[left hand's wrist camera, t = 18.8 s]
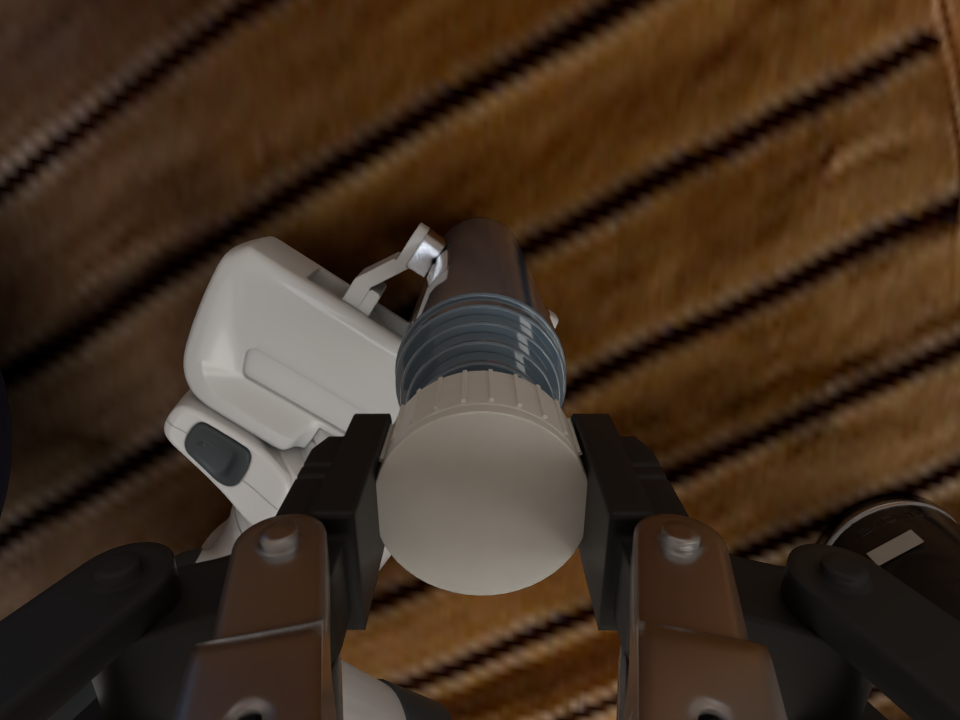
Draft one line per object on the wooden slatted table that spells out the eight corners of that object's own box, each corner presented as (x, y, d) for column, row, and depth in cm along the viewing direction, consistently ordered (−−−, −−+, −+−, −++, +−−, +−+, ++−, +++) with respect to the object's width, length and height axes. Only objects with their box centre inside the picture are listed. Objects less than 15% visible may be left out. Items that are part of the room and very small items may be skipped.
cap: (401, 542, 13) (387, 606, 11) (370, 376, 11) (349, 420, 10) (580, 527, 13) (597, 589, 11) (573, 356, 11) (590, 397, 9)
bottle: (458, 202, 31) (413, 328, 10) (538, 241, 32) (661, 437, 10) (422, 282, 33) (315, 543, 11) (499, 317, 33) (537, 625, 12)
